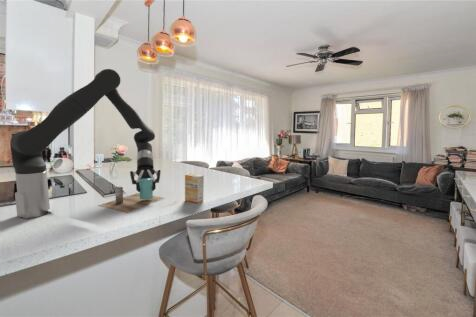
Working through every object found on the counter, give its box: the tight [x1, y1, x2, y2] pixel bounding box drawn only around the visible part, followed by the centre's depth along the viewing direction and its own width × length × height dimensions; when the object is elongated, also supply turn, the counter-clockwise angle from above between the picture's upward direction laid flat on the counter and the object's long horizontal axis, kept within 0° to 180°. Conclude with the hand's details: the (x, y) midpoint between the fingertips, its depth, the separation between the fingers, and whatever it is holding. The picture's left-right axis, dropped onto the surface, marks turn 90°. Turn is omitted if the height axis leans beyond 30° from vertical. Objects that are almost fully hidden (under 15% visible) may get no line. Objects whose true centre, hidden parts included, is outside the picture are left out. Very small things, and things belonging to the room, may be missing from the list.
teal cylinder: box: [139, 177, 154, 200], centre depth 109 cm, size 6×6×9 cm
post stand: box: [97, 186, 165, 214], centre depth 107 cm, size 22×18×8 cm
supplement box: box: [184, 172, 205, 204], centre depth 115 cm, size 8×5×13 cm, turn 62°
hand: (146, 190), depth 107 cm, fingers closed on teal cylinder, 5 cm apart
